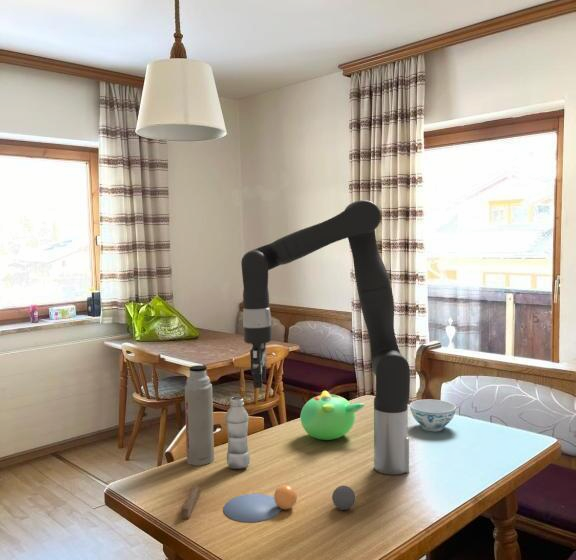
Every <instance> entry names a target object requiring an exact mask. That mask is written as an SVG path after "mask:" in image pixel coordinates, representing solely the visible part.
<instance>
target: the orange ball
mask: <svg viewBox="0 0 576 560" xmlns="http://www.w3.org/2000/svg"><path fill="white" fill-rule="evenodd" d="M273 494H274V495H273V497H274V501H275V503H276V505H277V506H278V507H279V508H281V510H290V509H291V508H293V507H294V506H295V505H296V503H297V499H298V497H297V492H296V490H295V488H293V486H291V485H289V484H288V485H287V484H282V485H280V486H279V487H277V488H276V489H275V491H274V493H273Z"/></svg>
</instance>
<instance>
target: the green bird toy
mask: <svg viewBox="0 0 576 560" xmlns="http://www.w3.org/2000/svg"><path fill="white" fill-rule="evenodd" d="M364 407H365V403H362V402H361V403H360V402H359V403H350V401H348V400H347V399H346V398H344V397H343V396H340V395H337V394H331V393H329V391H327V390H323V391H322V392H321V393H320V394H319V395H317V396H314V397H312V398H310V399H309V400H308V401H307V402H306V403H305V404H304V405H303V406H302V409H301V412H300V417H299V420H300V423H301V426H302V428H303V430H304V431H305V433H307V434H308V435H309V436H311V437H313V438H315V439H317V440H324V441H326V440H327V441H329V440H331V441H332V440H336V439H340V438H341V437H343V436H345V435H346V434H347V433H348V432H350V430H351V429H352V428H353V426H354V424H355V421H356V412H358V411H360V410H362V409H363V408H364Z"/></svg>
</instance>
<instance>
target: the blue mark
mask: <svg viewBox="0 0 576 560" xmlns="http://www.w3.org/2000/svg"><path fill="white" fill-rule="evenodd" d="M281 511H282V509H281V508H279V507H278V506H277V505H276V503H275V501H274V496H271V495H268V494H263V493H249V494H242V495H239V496H236V497H233V498H232V499H229V500H228V501H227V502H225V504H224V506H223V513H224V515H225V516H226V517H227V518H229V519H232V520H233V521H237V522H242V523H257V522H263V521H267V520H270V519H272V518H274V517H276V516H277V515H279V514H280V512H281Z"/></svg>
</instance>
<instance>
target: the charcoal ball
mask: <svg viewBox="0 0 576 560" xmlns="http://www.w3.org/2000/svg"><path fill="white" fill-rule="evenodd" d="M331 499H332V502H333V505H334V506H335V507H336V508H337V509H338V510H342V511H347V510H350V509H351V508H352V507H353V506H354V505H355V503H356V495H355V491H354V490H353V489H352V488H351V487H350V486H348V485H340V486H339V485H338V487H336V488H335V489H334V491H333V493H332V497H331Z"/></svg>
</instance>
